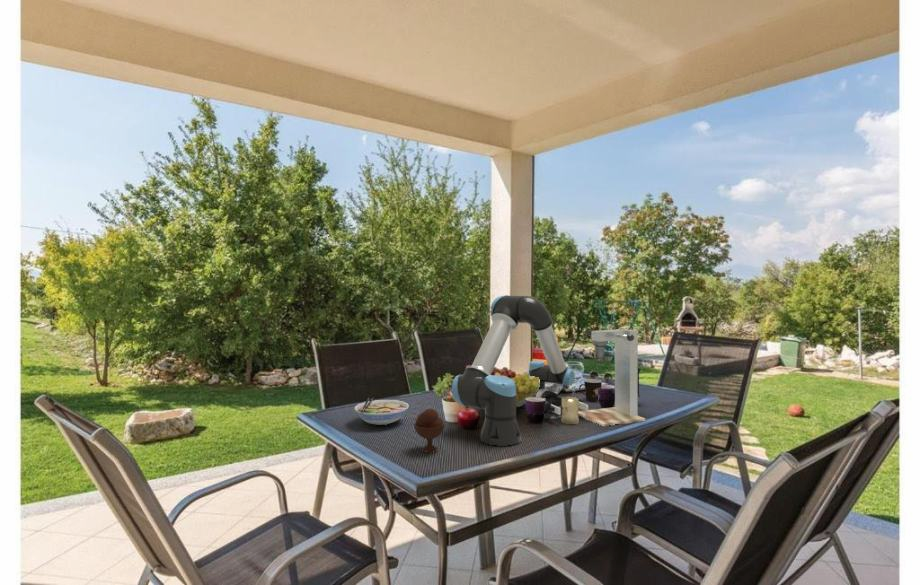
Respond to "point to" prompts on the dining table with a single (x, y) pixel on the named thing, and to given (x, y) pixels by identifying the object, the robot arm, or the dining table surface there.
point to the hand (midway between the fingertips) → (573, 409)
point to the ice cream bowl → (429, 427)
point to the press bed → (609, 417)
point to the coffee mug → (591, 389)
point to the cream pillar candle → (570, 410)
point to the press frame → (622, 366)
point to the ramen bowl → (381, 411)
